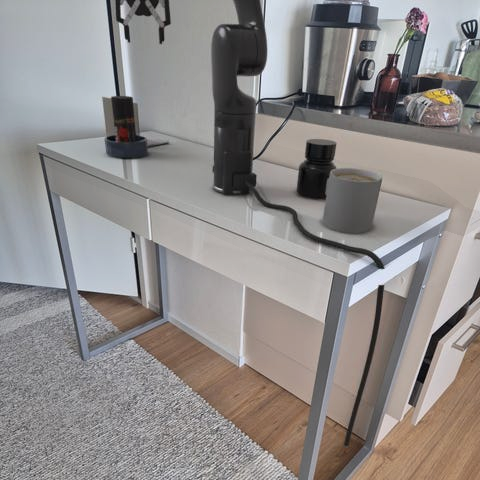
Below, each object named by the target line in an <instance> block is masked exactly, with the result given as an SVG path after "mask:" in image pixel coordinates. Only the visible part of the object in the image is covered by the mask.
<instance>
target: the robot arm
mask: <svg viewBox="0 0 480 480" xmlns="http://www.w3.org/2000/svg"><path fill="white" fill-rule="evenodd" d="M125 1H126V3H127V5H128V6H129V8H130V9H129V10H128V13H127V15H126V16H125V18H123V17H122V11H121V10H122V9H121V8H122V7H121V6H123V5H124V2H125ZM232 1H233V5H234V9H235V11H236V16H237V22H238V23H220V24H219V25H218V26H216V28H215V29H214V31H213V34H212V36H211V37H212V38H211V43H210V44H211V45H210V63H211V66H210V67H211V92H212V99H213V106H214V107H213V109H214V110H213V166H212V173H213V184H212V188H213V190H214V191H215V192H218V193H221V194H223V195H225V196H228V195H229V196H231V195H249V194H250V192H252V193H253V195H254V196H255V198H256V199H257V201H258V202H259V203H260V204H261V205H262V206H264V207H266V208H269V209H274V210H279V211H284V212H285V211H286V212H289V214H291V216H292V222H293V224H294V225H295V227H296V229H298V231H299V232H300V234H302V235H303V236H304V237H306V238H308V239H309V240H312V241H314V242H316V243H318V244H319V243H320V244H322V245H325V246H329V247H333V248H336V249H339V250H342V251H346V252H349V253H353V254H359V255H363V256H367V257H369V258H370V259H371V260H372V261H373V262H374V263H375V265H376V267H377V268H378V269H380V270H385V265H384V263H383V262H382V260H381V259H380V257H379V256H378V254H376V253H375V252H373V251H371V250H370V249H366V248H362V247H357V246H350V245H347V244H345V243H341V242H339V241H335V240H332V239H328V238H324V237H321V236H318V235H315V234H313V233H311V232H309V231H308V230H307V229H306V228H305V227H304V226H303V225H302V223H301V222H300V220H299V216H298V212H297V211H296V210H295V209H294V208H292V207H290V206H288V205H283V204H276V203H271V202H268V201H266V200H265V199H263V197H262V196H261V194H260V193H259V191H258V189H256V187H257V176H258V175H257V174H256V173H255V172H253V165H254V149H255V131H256V114H257V100H256V98H255V97H254V96H251V95H250V94H248V93H245V92H244V91H242V90H241V89H240V87H239V84H238V77H257V76H259V75H262V74H263V72H264V71H265V68H266V65H267V61H268V37H267V31H266V24H265V20H264V14H263V9H262V3H261V0H232ZM159 4H160V6H161V8H163V9H164V10H163V11H164V18H165V20H162V18H161V17H160V14H159V13H158V12H157V10H156V9H157V7H158V6H159ZM134 16H137V17H142V16H144V17H147V18H148V17H151V16H152V17H153V19H154V20H155V21H156V23H157V25H158V44H159V45H163V43H164V42H165V39H166V38H165V28H166V27H168V26H170V25H171V24H172V20H171V9H170V0H115V20H116V22H117V23H119V24H121V25H122V27H123V33H124V39H125V41H127V43H128V44H129V43H131V34H130V33H131V31H130V25H129V24H130V22H131V20H132V19H133V17H134ZM384 291H385V284H378V286H377V291H376V292H377V293H376V303H375V313H374V320H373V325H372V330H371V337H370V343H369V346H368V350H367V351H368V352H367V356H366V360H365V364H364V368H363V370H362V376H361V379H360V382H359V387H358V390H357V392H356V393H357V394H356V397H355V401H354V404H353V408H352V411H351V415H350V419H349V422H348V426H347V429H346V434H345V438H344V443H343V445H344V447H349V445H350V441H351V437H352V433H353V429H354V426H355V421H356V418H357V414H358V411H359V408H360V404H361V400H362V398H363V393H364V390H365V387H366V383H367V381H368V377H369V373H370V369H371V365H372V361H373V357H374V353H375V349H376V345H377V340H378V336H379V335H378V334H379V329H380V323H381V316H382V309H383V301H384V293H385V292H384Z"/></svg>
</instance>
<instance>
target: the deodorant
mask: <svg viewBox="0 0 480 480" xmlns="http://www.w3.org/2000/svg"><path fill="white" fill-rule="evenodd" d="M110 98H111V101H112V110H113V119H114V128H115V138H116V142H136V131H135V119H134V107H133V103H134V98H133V96H128V95H113V96H110Z"/></svg>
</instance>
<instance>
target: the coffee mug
mask: <svg viewBox="0 0 480 480" xmlns="http://www.w3.org/2000/svg"><path fill="white" fill-rule="evenodd" d="M382 183H383V175H382V174H380V173H379V172H375V171H373V170H369V169H364V168H356V167H338V168H337V169H333V170H332V171H331V172H330V176H329V182H328V189H327V195H326V199H325V203H324V209H323V215H322V222H321V223H322V224H323V226H325V227H326V228H328V229H330V230H333V231H335V232H338V233H339V232H340V233H344V234H345V233H346V234H363V233H367V232H369V231H371V230H372V227H373V224H374V219H375V215H376V210H377V206H378V201H379V196H380V191H381V187H382Z"/></svg>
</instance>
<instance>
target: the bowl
mask: <svg viewBox="0 0 480 480" xmlns="http://www.w3.org/2000/svg"><path fill="white" fill-rule="evenodd" d="M104 146H105V147H104V148H105V153H106V155H107V156H110V157H112V158H117V159H137V158H142V157H144V156H146V155H148V154H149V149H148V148H149V147H148V146H147V138H146V137H144V136H140V135H136V142H116V138H115V135H111V136H107V135H106V136H105V137H104Z"/></svg>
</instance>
